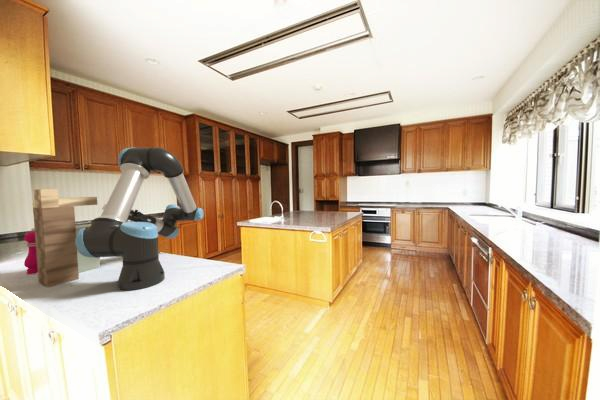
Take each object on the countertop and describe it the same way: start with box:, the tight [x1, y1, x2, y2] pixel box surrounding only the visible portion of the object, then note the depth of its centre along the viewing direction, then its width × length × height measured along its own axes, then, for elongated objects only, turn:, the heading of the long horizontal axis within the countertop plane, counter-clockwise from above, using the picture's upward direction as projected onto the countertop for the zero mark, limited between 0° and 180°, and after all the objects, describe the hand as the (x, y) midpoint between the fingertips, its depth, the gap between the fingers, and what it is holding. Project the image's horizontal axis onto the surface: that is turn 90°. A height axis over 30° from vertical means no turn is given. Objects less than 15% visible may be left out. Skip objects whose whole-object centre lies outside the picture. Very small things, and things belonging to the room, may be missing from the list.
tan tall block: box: [33, 188, 98, 208], centre depth 96 cm, size 7×18×7 cm, turn 153°
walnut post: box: [32, 206, 80, 288], centre depth 92 cm, size 9×9×30 cm
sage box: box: [75, 224, 101, 274], centre depth 105 cm, size 7×12×20 cm, turn 153°
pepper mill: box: [23, 227, 38, 275], centre depth 104 cm, size 7×7×20 cm
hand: (110, 206), depth 109 cm, fingers open, 13 cm apart
